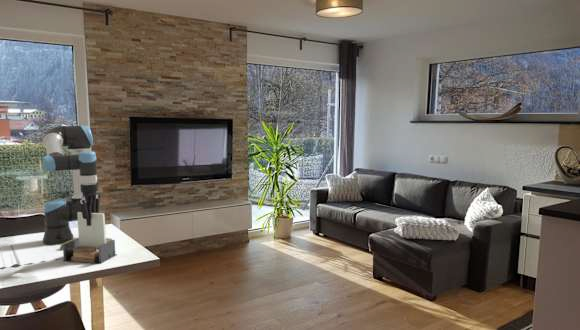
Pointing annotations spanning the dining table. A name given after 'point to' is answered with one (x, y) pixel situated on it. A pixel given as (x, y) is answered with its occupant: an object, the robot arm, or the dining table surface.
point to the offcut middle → (87, 255)
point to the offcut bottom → (84, 259)
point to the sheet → (99, 232)
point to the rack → (104, 250)
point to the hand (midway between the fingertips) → (91, 231)
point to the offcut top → (84, 249)
